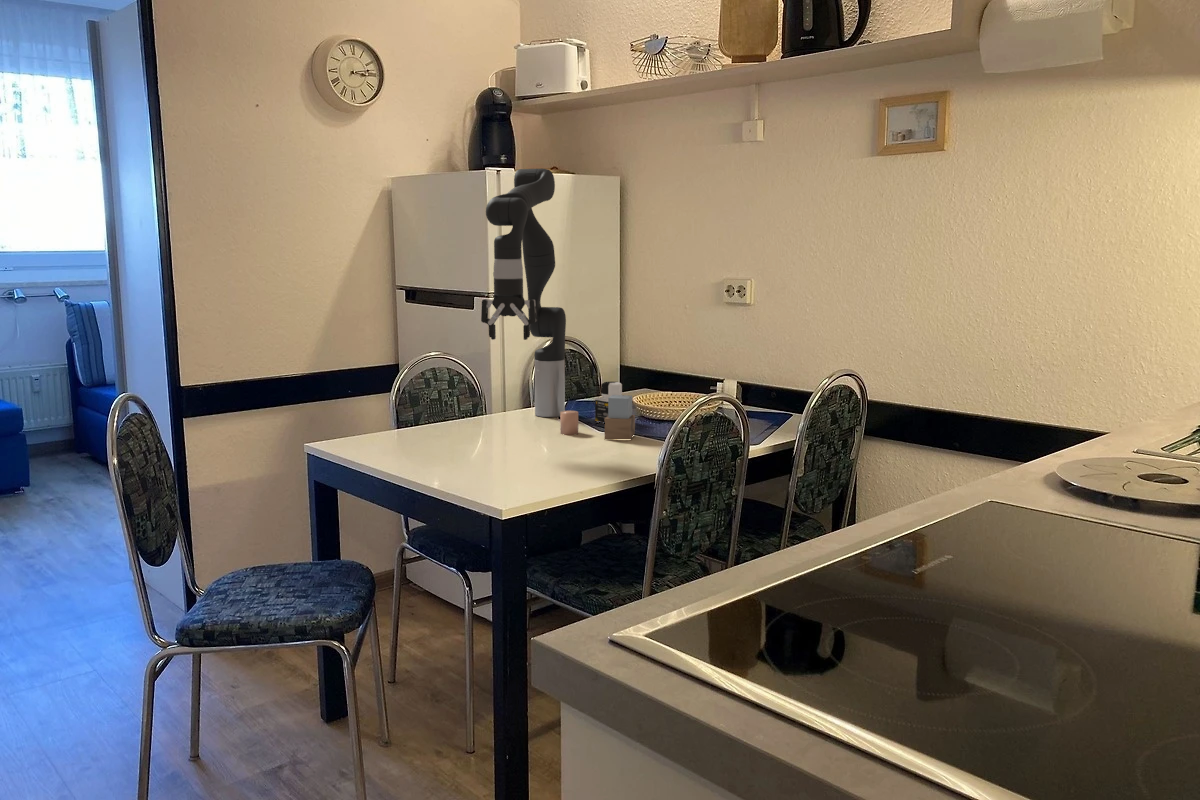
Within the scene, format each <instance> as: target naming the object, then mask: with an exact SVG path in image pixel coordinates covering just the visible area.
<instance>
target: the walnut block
mask: <svg viewBox="0 0 1200 800" xmlns="http://www.w3.org/2000/svg"><path fill="white" fill-rule="evenodd" d="M635 422H636V414H632V416H631V417H630V418H629V419H619V418H608V416H607V417H606V418H605V424H604V440H605V439H631V438H632V436H633V435H634V434H636V430H635V429H636V423H635ZM632 439H633V438H632ZM632 439H631V440H632Z"/></svg>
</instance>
